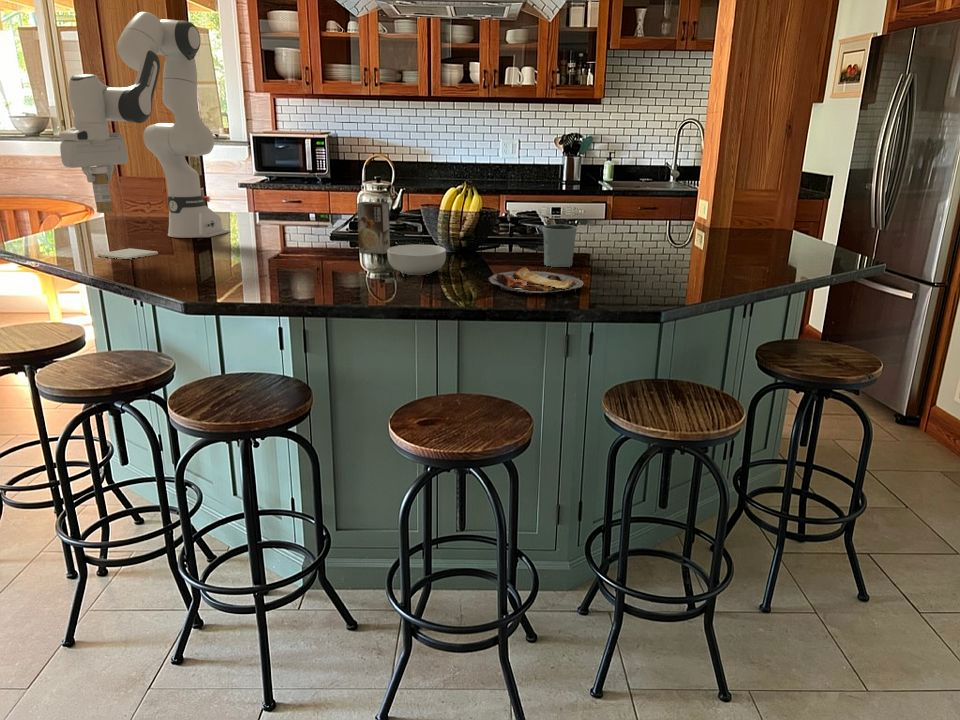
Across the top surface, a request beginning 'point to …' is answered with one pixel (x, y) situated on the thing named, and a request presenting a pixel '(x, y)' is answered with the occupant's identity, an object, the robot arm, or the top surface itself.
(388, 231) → the coffee box
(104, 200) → the sprinkles bottle
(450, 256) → the top surface
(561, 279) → the food plate
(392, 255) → the cereal bowl
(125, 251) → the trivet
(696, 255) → the top surface
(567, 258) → the grey tapered cup
